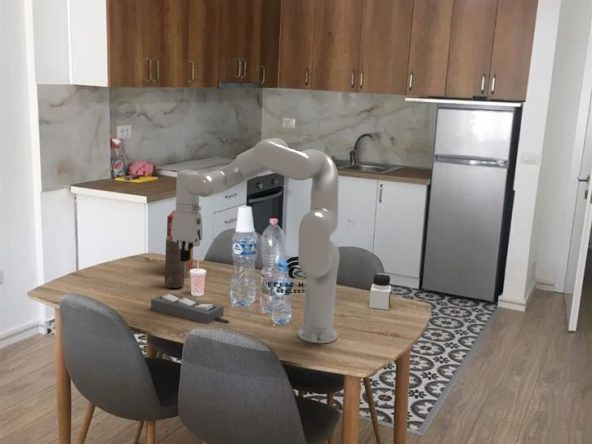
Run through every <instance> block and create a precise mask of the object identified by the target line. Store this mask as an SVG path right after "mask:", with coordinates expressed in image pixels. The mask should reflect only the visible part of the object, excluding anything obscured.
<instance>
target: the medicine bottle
mask: <svg viewBox="0 0 592 444" xmlns="http://www.w3.org/2000/svg"><path fill="white" fill-rule="evenodd" d="M390 284H391V277H390V275H388V274H385V273H376V274H374V275H373V280H372V284H371V288H370V292H369V305H368V306H369V308H370V309H377V310H385V311H389V310H390V305H391V297H392V296H391V293H392V292H391V291H392V286H391V285H390Z"/></svg>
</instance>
